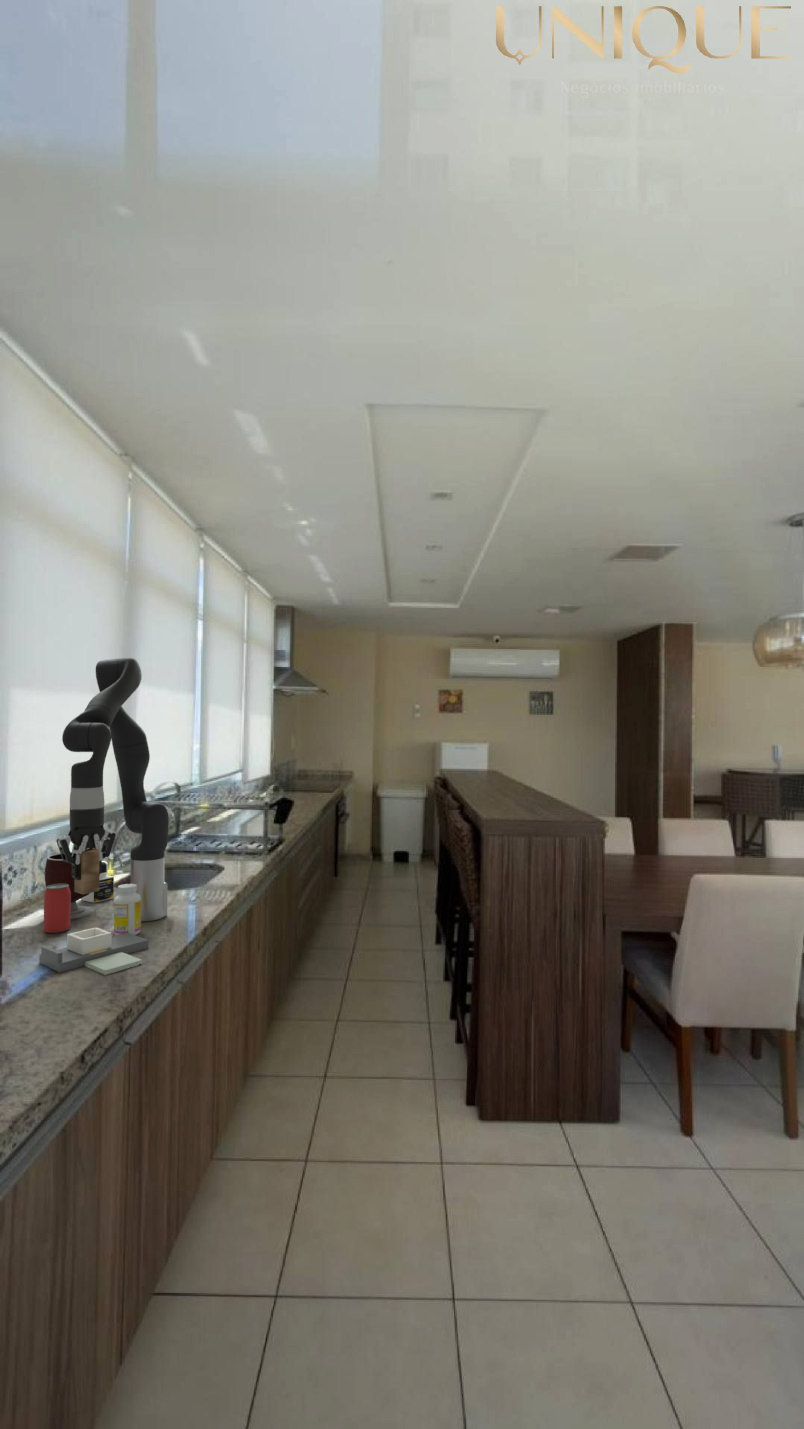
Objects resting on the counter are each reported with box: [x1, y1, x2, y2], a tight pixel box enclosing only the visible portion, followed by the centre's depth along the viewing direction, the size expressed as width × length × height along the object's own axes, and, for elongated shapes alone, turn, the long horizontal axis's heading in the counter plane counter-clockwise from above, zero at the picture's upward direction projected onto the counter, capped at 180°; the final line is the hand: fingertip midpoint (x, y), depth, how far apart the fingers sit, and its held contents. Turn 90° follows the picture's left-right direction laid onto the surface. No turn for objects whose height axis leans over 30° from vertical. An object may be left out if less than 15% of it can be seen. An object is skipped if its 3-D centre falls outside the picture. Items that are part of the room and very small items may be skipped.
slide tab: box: [66, 927, 113, 955], centre depth 166 cm, size 7×7×4 cm
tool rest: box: [84, 952, 143, 976], centre depth 161 cm, size 9×9×1 cm
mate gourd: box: [44, 851, 95, 920], centre depth 206 cm, size 16×14×20 cm
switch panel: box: [38, 933, 150, 973], centre depth 168 cm, size 22×10×4 cm, turn 142°
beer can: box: [43, 884, 72, 934], centre depth 188 cm, size 7×7×12 cm
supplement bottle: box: [113, 883, 142, 936], centre depth 185 cm, size 7×7×13 cm
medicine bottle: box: [80, 860, 115, 904], centre depth 222 cm, size 7×7×12 cm
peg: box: [74, 848, 99, 894], centre depth 166 cm, size 4×4×10 cm
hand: (86, 877), depth 166 cm, fingers closed on peg, 4 cm apart
